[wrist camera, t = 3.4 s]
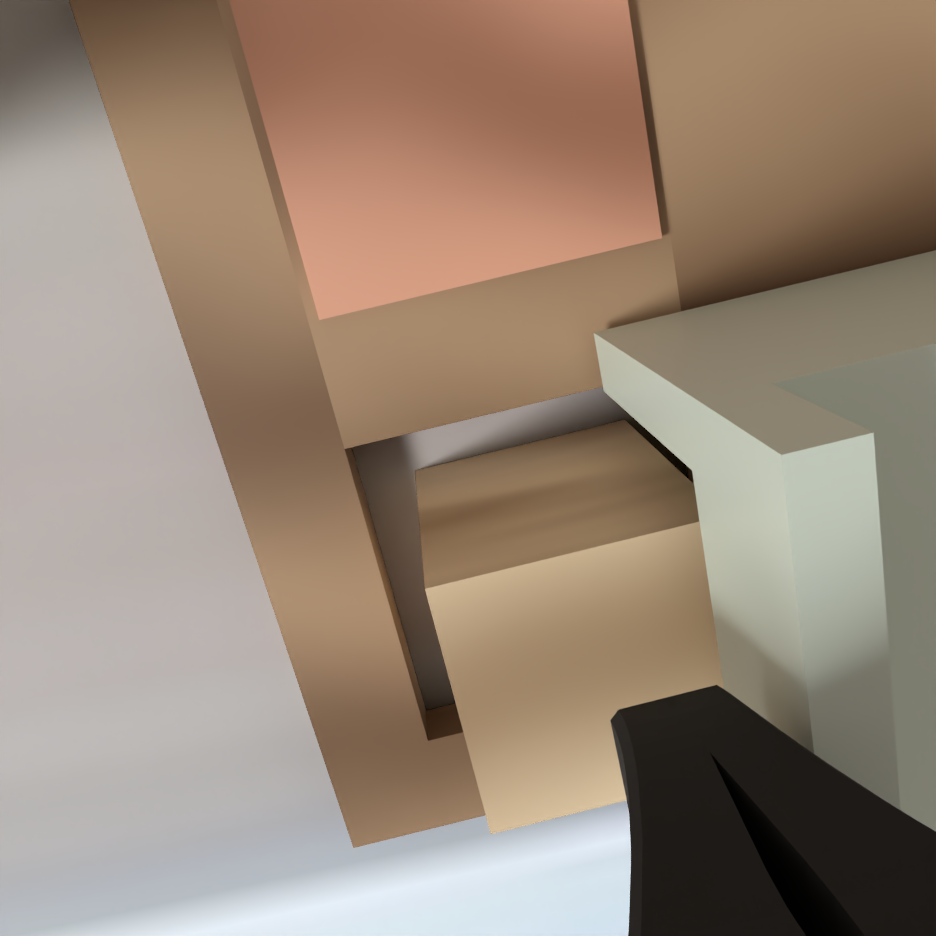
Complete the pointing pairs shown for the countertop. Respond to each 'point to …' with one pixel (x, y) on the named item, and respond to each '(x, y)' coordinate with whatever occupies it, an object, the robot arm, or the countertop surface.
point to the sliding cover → (812, 503)
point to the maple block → (563, 609)
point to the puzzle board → (474, 252)
